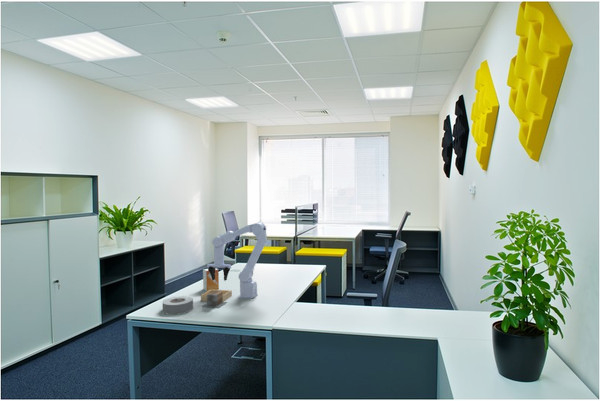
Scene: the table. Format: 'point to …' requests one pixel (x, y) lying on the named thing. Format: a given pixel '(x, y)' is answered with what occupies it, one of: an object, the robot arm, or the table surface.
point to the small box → (210, 280)
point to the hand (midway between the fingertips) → (219, 280)
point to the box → (214, 298)
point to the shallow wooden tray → (225, 293)
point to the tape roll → (177, 305)
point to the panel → (216, 306)
